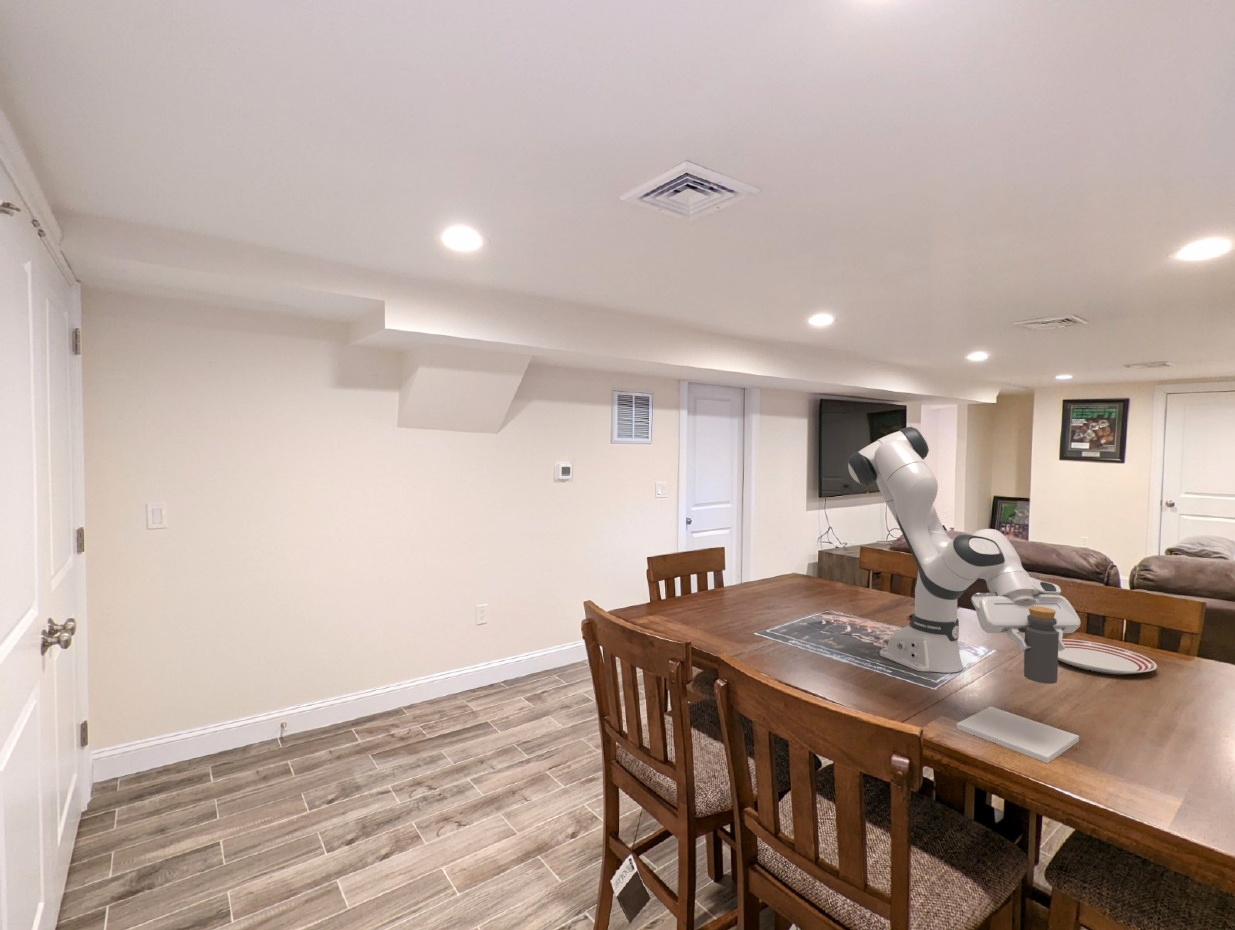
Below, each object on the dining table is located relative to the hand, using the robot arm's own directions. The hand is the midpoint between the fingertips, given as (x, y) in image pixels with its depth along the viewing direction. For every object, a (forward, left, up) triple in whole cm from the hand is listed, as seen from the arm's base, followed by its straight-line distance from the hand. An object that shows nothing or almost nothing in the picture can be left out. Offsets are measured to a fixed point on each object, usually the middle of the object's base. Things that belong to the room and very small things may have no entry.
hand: (1043, 649), depth 126 cm
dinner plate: (-13, +70, -22) cm, 75 cm away
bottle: (-1, 0, -7) cm, 7 cm away
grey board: (-6, +2, -21) cm, 22 cm away
